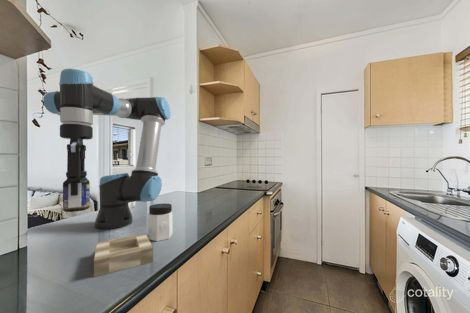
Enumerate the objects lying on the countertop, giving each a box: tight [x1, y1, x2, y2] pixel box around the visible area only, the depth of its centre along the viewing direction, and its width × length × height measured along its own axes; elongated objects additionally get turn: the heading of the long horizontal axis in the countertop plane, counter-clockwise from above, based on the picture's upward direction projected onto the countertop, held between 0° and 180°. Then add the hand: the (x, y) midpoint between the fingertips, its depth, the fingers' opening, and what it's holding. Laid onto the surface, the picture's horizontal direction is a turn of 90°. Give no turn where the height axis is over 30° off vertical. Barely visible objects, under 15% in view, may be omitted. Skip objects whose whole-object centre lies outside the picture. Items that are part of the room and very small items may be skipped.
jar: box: [147, 203, 174, 242], centre depth 78 cm, size 9×8×12 cm
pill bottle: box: [62, 170, 91, 213], centre depth 59 cm, size 6×6×11 cm
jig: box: [93, 233, 154, 278], centre depth 62 cm, size 16×14×4 cm
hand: (76, 204), depth 58 cm, fingers closed on pill bottle, 6 cm apart
